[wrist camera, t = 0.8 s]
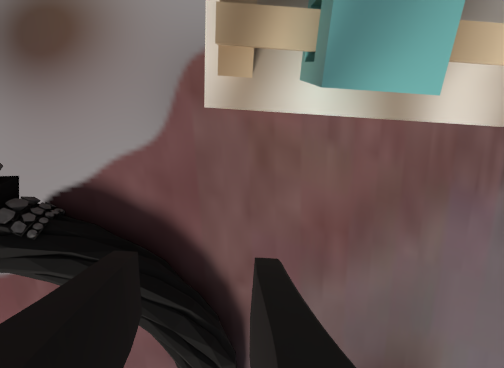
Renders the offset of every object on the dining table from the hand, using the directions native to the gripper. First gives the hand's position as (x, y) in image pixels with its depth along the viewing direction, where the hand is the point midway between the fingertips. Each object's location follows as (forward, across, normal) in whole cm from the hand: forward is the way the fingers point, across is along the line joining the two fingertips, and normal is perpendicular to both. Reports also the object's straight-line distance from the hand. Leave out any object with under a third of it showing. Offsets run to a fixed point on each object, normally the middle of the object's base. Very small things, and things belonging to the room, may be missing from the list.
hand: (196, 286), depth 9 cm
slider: (+9, -6, -7) cm, 12 cm away
